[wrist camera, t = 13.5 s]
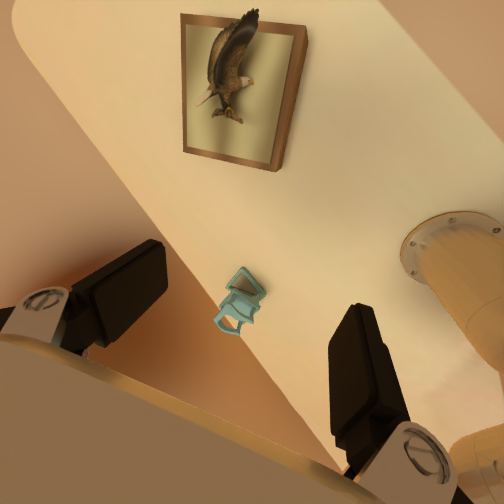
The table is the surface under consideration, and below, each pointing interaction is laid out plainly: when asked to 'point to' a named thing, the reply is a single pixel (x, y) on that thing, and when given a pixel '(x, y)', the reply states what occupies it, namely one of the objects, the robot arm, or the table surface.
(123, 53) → the table surface
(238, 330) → the chair
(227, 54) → the eagle figurine
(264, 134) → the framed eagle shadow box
